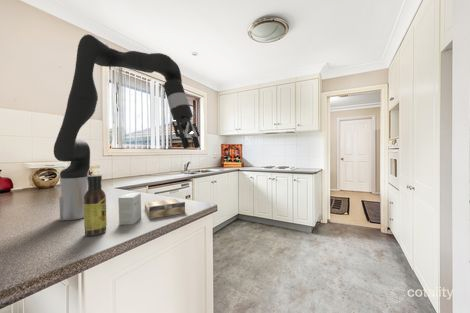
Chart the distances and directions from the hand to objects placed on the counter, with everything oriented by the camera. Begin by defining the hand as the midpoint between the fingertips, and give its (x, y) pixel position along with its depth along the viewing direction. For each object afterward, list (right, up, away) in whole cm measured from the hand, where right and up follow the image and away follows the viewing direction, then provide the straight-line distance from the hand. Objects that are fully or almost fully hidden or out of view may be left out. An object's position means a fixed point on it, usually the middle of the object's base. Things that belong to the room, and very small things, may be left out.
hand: (192, 147), depth 76 cm
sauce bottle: (-32, -30, -7) cm, 44 cm away
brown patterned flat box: (-17, -29, +18) cm, 38 cm away
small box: (-26, -30, +4) cm, 40 cm away
